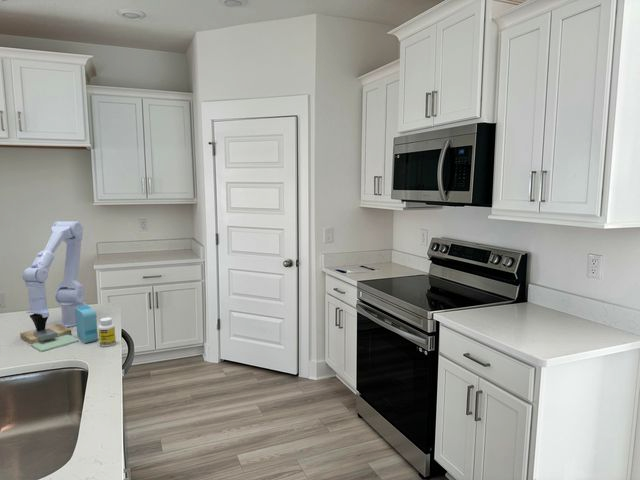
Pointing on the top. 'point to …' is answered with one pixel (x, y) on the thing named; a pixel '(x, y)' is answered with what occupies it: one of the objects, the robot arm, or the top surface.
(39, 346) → the green mat
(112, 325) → the supplement bottle
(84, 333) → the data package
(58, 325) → the oak board
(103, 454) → the top surface
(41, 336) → the slate tile
